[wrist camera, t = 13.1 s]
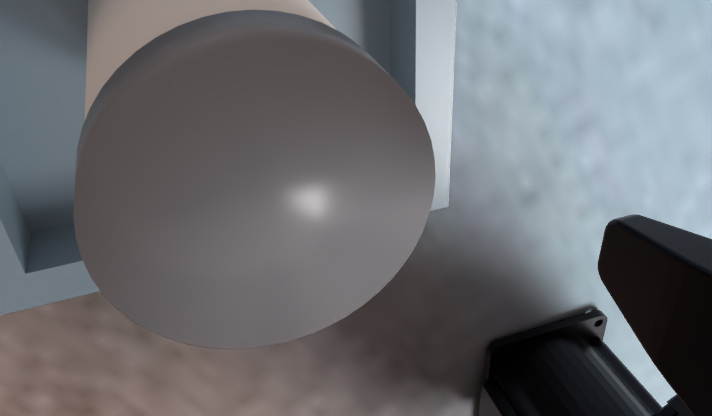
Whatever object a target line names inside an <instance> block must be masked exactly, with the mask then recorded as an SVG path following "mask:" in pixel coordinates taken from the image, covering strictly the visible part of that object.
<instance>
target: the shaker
mask: <svg viewBox="0 0 712 416" xmlns="http://www.w3.org/2000/svg"><path fill="white" fill-rule="evenodd" d="M435 178H436V175H435V157H434V152H433V147H432V142H431V138H430V135H429V132H428V130H427V127H426V124H425V121H424V120H423V118H422V116H421V114H420V112H419V110H418V109H417V107H416V105H415V103H414V102H413V101H412V100H411V98H410V97H409V96H408V94H407V93H406V92H405V91H404V89H403V88H402V87H401V86H400V85H399V84H398V83H397V82H396V81H395V80H394V79H393V78H392V77H391V76H390V75H389V74H388V73H387V72H386V71H385V70H384V69H383V68H382V67H381V66H380V65H379V64H378V63H377V62H376V61H375V60H374V59H373V58H372V57H371V56H370V55H369V54H368V53H367V52H366V51H365V50H364V49H363V48H362V47H361V46H360V45H359V44H357V43H356V42H354V41H353V40H352V39H350V38H349V37H347V36H346V35H344V34H343V33H341V32H340V31H338V30H336V28H335V27H334V26H333V25H332V24H331V23H330V22H329V21H328V20H327V19H326V18H325V17H324V16H323V15H322V14H321V13H320V12H319V11H318V10H317V9H316V8H315V6H314V5H313V4H312V3H311V2H310V1H309V0H88V24H87V58H86V92H85V122H84V124H83V127H82V130H81V134H80V139H79V143H78V147H77V157H76V173H75V193H74V214H73V217H74V226H75V236H76V240H77V244H78V247H79V251H80V254H81V258H82V260H83V262H84V264H85V266H86V268H87V271H88V273H89V275H90V277H91V278H92V280H93V281H94V283H95V284H96V285H97V287H98V288H99V290H100V291H101V293H102V294H103V295H104V296H105V297H106V298H107V299H108V300H109V301H110V302H111V303H112V304H113V305H114V307H115V308H117V309H118V310H119V311H120V312H122V313H123V314H124V315H125V316H127V317H128V318H129V319H131V320H132V321H134V322H135V323H137V324H139V325H140V326H142V327H144V328H146V329H147V330H149V331H151V332H154V333H156V334H158V335H161V336H163V337H165V338H168V339H171V340H174V341H178V342H181V343H185V344H188V345H194V346H200V347H206V348H217V349H249V348H257V347H265V346H271V345H275V344H280V343H284V342H289V341H292V340H295V339H298V338H301V337H304V336H307V335H310V334H312V333H315V332H317V331H319V330H322V329H324V328H326V327H328V326H330V325H332V324H334V323H336V322H338V321H339V320H341V319H343V318H345V317H347V316H348V315H349V314H351V313H352V312H354V311H355V310H357V309H358V308H360V307H361V306H363V305H364V304H365V303H366V302H368V301H369V300H370V299H371V298H373V297H374V296H375V295H376V294H377V293H379V292H380V291H381V290H382V289H383V288H384V287H385V286H386V285H387V284H388V283H389V282H390V281H391V280H392V278H393V277H394V276H395V275H396V274H397V272H398V271H399V270H400V269H401V267H402V266H403V265H404V264H405V262H406V261H407V259H408V258H409V256H410V255H411V253H412V251H413V250H414V248H415V246H416V244H417V243H418V241H419V239H420V237H421V235H422V233H423V230H424V228H425V225H426V222H427V220H428V217H429V214H430V210H431V206H432V201H433V197H434V189H435Z"/></svg>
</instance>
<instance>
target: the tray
mask: <svg viewBox="0 0 712 416" xmlns="http://www.w3.org/2000/svg"><path fill="white" fill-rule="evenodd" d="M309 1H310V2H311V3H312V4H313V5H314V6H315V8H316V9H317V10H318V11H319V12H320V13H321V14H322V15H323V16H324V17H325V18H326V19H327V20H328V21H329V22H330V23H331V24H332V25H333V26H334V27H335V28H336V30H338V31H340V32H341V33H343V34H344V35H346V36H347V37H349V38H350V39H352V40H353V41H354V42H356V43H357V44H359V45H360V46H361V47H362V48H363V49H364V50H365V51H366V52H367V53H368V54H369V55H370V56H371V57H372V58H373V59H374V60H375V61H376V62H377V63H378V64H379V65H380V66H381V67H382V68H383V69H384V70H385V71H386V72H387V73H388V74H389V75H390V76H391V77H392V78H393V79H394V80H395V81H396V82H397V83H398V84H399V85H400V86H401V87H402V88H403V89H404V91H405V92H406V93H407V94H408V96H409V97H410V98H411V100H412V101H413V102H414V103H415V105H416V107H417V109H418V110H419V112H420V114H421V116H422V118H423V120H424V121H425V124H426V127H427V130H428V132H429V135H430V138H431V142H432V147H433V152H434V157H435V175H436V178H435V189H434V197H433V201H432V206H431V210H430V211H433V210H437V209H441V208H446V207H448V205H449V180H450V156H451V131H452V106H453V82H454V57H455V32H456V8H457V0H309ZM87 24H88V0H0V315H4V314H8V313H12V312H16V311H20V310H24V309H29V308H33V307H37V306H41V305H45V304H49V303H53V302H57V301H62V300H66V299H70V298H74V297H78V296H82V295H86V294H90V293H95V292H99V291H100V290H99V288H98V287H97V285H96V284H95V283H94V281H93V280H92V278H91V277H90V275H89V273H88V271H87V268H86V266H85V264H84V262H83V260H82V258H81V254H80V251H79V247H78V244H77V240H76V236H75V226H74V217H73V214H74V193H75V173H76V157H77V147H78V143H79V139H80V134H81V130H82V127H83V124H84V122H85V92H86V58H87Z"/></svg>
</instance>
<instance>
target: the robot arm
mask: <svg viewBox="0 0 712 416" xmlns="http://www.w3.org/2000/svg"><path fill="white" fill-rule="evenodd" d="M598 271H599V275H600V278H601V280H602V282H603V284H604V285H605V287H606V288H607V290H608V292H609V293H610V295H611V296H612V298H613V300H614V301H615V303H616V304H617V306H618V308H619V309H620V311H621V312H622V314H623V316H624V317H625V319H626V320H627V322H628V324H629V325H630V327H631V328H632V330H633V332H634V333H635V335H636V336H637V338H638V340H639V341H640V343H641V344H642V346H643V348H644V349H645V351H646V352H647V354H648V355H649V357H650V358H651V360H652V361H653V363H654V364H655V366H656V367H657V368H658V370H659V371H660V372H661V374H662V375H663V377H664V378H665V379H666V381H667V382H668V383H669V384H670V386H671V387H672V388H673V390H674V391H675V392H676V393H677V394H676V395H675V396H674V397H672V398H671V399H670V400H668V401H667V403H668V404H667V405H665V406H664V407H663V408H662V407H661V405H660V404H659V403H658V402H657V401H656V400H655V399H654V398H653V396H652V395H651V394H650V393H649V392H648V391H647V390H646V389H645V388H644V386H643V385H642V384H641V383H640V382H639V381H638V380H637V379H636V378H635V376H634V375H633V374H632V373H631V372H630V371H629V370H628V369H627V367H626V366H625V365H624V364H623V363H622V362H621V361H620V360H619V359H618V357H617V356H616V355H615V354H614V353H613V352H612V351H611V350H610V349H609V347H608V346H607V345H606V344H605V343H604V342H603V341H602V340H603V336H604V332H605V328H606V324H607V317H606V316H605V315H604V314H603V313H602V311H600V310H597V311H593V312H589V313H586V314H583V315H579V316H576V317H573V318H569V319H566V320H563V321H560V322H556V323H553V324H550V325H546V326H543V327H540V328H536V329H533V330H530V331H526V332H523V333H520V334H516V335H513V336H510V337H507V338H503V339H500V340H497V341H494V342H493V343H491V344H490V345H489V346H488V348H487V352H486V362H485V372H484V381H483V383H482V386H481V396H480V407H479V416H712V239H709V238H706V237H704V236H701V235H698V234H695V233H692V232H689V231H686V230H683V229H680V228H677V227H674V226H671V225H668V224H665V223H662V222H659V221H656V220H653V219H650V218H647V217H644V216H641V215H629V216H625V217H621V218H617V219H614V220H612V221H610V222H609V223H608V225H607V226H606V228H605V232H604V237H603V242H602V246H601V251H600V255H599V260H598Z"/></svg>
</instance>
